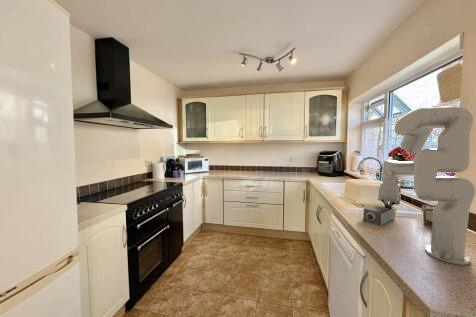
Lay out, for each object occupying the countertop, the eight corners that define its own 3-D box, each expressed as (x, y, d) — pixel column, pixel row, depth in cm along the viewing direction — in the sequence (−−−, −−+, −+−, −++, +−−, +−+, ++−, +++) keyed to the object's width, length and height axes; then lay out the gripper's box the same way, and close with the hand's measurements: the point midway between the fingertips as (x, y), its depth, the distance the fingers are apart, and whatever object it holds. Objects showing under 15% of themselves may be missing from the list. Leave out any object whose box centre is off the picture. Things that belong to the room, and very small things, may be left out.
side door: (381, 225, 110) (382, 214, 110) (379, 225, 111) (380, 213, 111) (395, 218, 121) (395, 207, 121) (393, 217, 122) (393, 206, 121)
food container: (438, 222, 115) (440, 204, 114) (448, 226, 109) (450, 208, 108) (414, 221, 117) (415, 204, 116) (423, 226, 111) (424, 207, 110)
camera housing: (377, 225, 111) (378, 212, 110) (362, 221, 118) (362, 208, 117) (387, 220, 119) (388, 207, 118) (372, 215, 125) (373, 203, 125)
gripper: (408, 182, 117) (405, 214, 119) (378, 178, 129) (376, 207, 131) (403, 184, 112) (401, 217, 114) (373, 180, 124) (371, 209, 126)
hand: (387, 211), depth 123 cm, fingers closed
